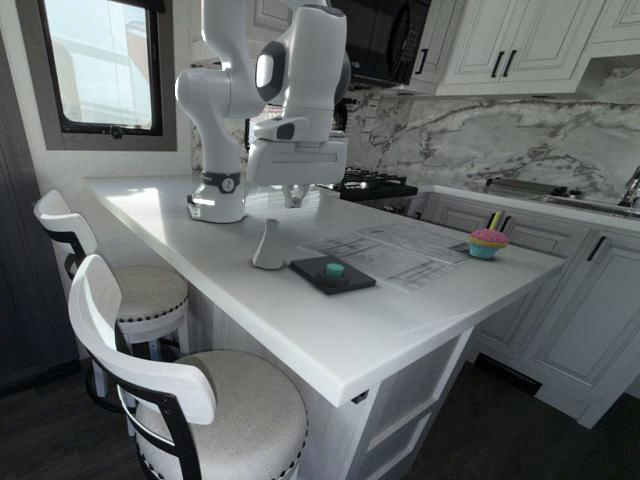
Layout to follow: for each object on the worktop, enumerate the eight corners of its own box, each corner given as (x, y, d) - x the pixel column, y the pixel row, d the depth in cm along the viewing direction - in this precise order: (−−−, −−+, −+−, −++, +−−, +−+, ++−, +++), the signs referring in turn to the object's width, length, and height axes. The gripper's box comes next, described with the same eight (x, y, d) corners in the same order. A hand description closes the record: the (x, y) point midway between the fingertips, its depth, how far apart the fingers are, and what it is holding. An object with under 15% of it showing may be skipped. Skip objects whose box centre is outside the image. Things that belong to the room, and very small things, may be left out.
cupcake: (458, 247, 86) (477, 204, 80) (493, 253, 84) (515, 209, 78) (466, 258, 79) (488, 212, 73) (504, 264, 77) (530, 217, 71)
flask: (282, 272, 66) (288, 227, 61) (249, 267, 68) (252, 223, 62) (284, 259, 73) (290, 217, 67) (254, 255, 74) (258, 214, 69)
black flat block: (289, 266, 69) (291, 254, 68) (331, 260, 74) (334, 248, 72) (328, 296, 58) (331, 282, 57) (375, 286, 63) (379, 273, 61)
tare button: (322, 272, 61) (323, 264, 60) (334, 270, 62) (336, 262, 61) (332, 279, 59) (334, 271, 58) (345, 277, 60) (347, 269, 59)
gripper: (339, 129, 60) (324, 200, 68) (245, 124, 52) (240, 205, 60) (361, 132, 55) (343, 208, 63) (263, 127, 48) (255, 215, 55)
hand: (292, 207), depth 61 cm, fingers closed
